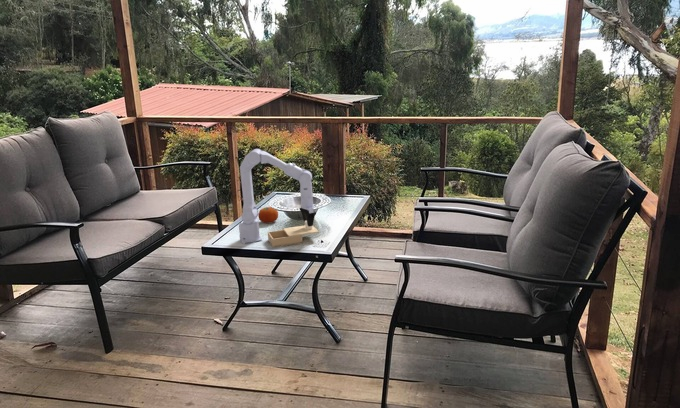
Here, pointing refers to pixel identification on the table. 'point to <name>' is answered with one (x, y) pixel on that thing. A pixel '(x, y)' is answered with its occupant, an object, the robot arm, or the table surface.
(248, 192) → the robot arm
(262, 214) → the fruit
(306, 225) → the lid
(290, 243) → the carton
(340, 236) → the table surface
